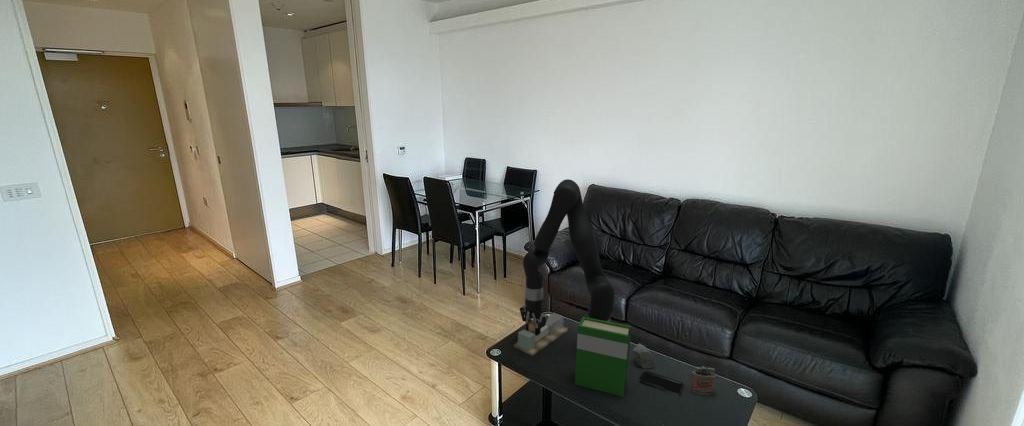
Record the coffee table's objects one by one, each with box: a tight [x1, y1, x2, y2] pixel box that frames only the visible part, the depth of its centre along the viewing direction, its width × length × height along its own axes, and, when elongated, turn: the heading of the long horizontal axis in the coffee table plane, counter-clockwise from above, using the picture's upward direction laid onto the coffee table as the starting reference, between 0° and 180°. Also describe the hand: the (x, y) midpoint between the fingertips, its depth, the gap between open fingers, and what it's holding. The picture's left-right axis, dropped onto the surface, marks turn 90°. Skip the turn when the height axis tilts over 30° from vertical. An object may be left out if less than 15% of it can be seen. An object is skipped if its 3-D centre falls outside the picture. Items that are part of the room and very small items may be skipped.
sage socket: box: [517, 329, 535, 351], centre depth 178 cm, size 4×6×6 cm, turn 50°
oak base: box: [513, 326, 569, 357], centre depth 187 cm, size 27×10×1 cm, turn 140°
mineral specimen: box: [632, 342, 655, 370], centre depth 168 cm, size 7×9×8 cm
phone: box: [638, 370, 685, 397], centre depth 158 cm, size 8×1×15 cm
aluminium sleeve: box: [546, 312, 565, 336], centre depth 193 cm, size 10×5×5 cm, turn 140°
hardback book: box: [574, 316, 632, 398], centre depth 154 cm, size 18×7×24 cm, turn 67°
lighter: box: [689, 365, 717, 396], centre depth 153 cm, size 8×3×10 cm, turn 80°
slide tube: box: [529, 319, 550, 342], centre depth 183 cm, size 17×4×8 cm, turn 140°
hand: (533, 332), depth 181 cm, fingers closed on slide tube, 4 cm apart
